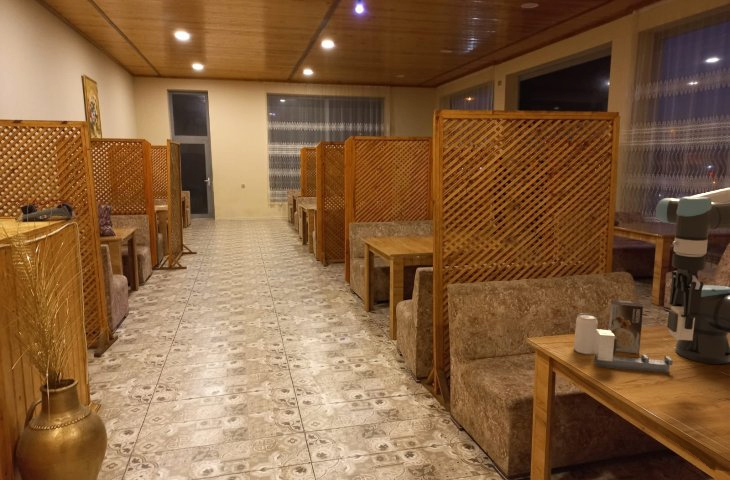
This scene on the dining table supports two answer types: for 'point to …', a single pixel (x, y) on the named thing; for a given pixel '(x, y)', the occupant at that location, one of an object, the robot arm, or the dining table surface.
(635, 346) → the coffee box
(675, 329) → the white block
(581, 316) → the can
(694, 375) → the dining table surface
